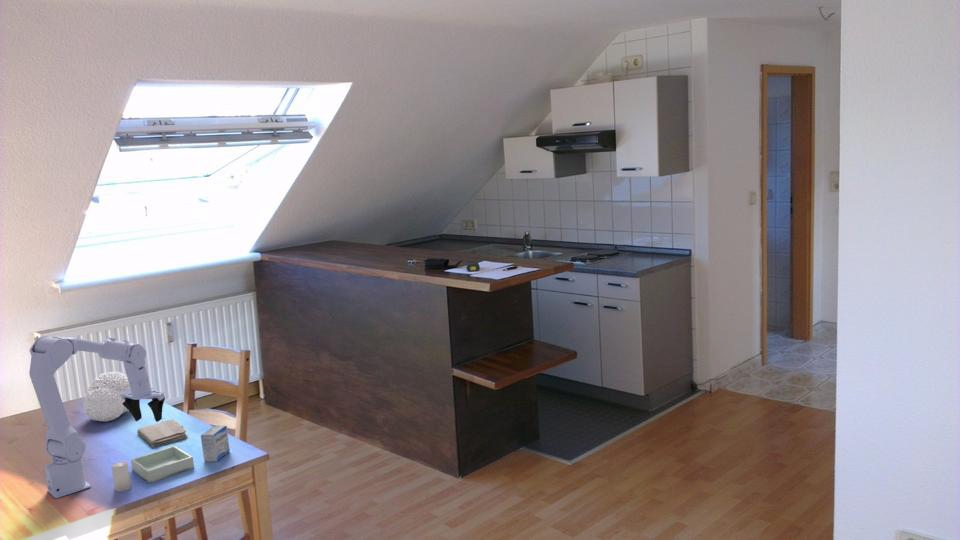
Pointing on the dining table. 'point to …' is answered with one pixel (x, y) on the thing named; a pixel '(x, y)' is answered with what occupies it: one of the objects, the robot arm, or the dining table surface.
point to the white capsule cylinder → (121, 476)
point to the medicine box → (215, 443)
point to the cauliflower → (106, 396)
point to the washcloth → (162, 433)
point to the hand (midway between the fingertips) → (148, 419)
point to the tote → (162, 464)
